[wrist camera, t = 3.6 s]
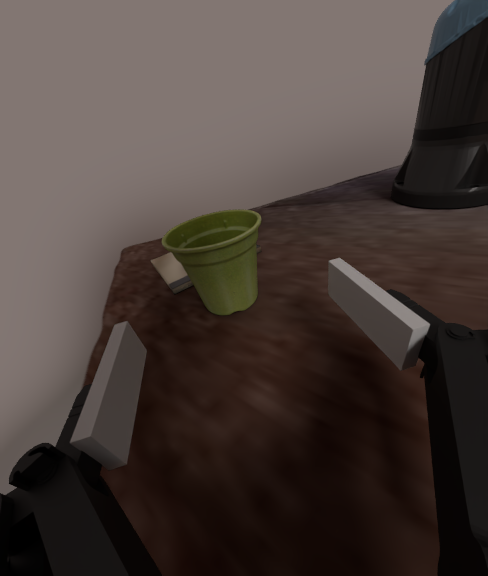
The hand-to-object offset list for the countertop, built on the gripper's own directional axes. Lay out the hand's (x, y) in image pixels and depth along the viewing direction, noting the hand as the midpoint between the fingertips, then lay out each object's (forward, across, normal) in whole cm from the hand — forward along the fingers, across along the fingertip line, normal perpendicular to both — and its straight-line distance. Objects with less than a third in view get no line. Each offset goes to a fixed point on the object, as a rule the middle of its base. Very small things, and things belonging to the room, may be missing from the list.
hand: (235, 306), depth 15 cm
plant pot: (+10, 0, -6) cm, 12 cm away
